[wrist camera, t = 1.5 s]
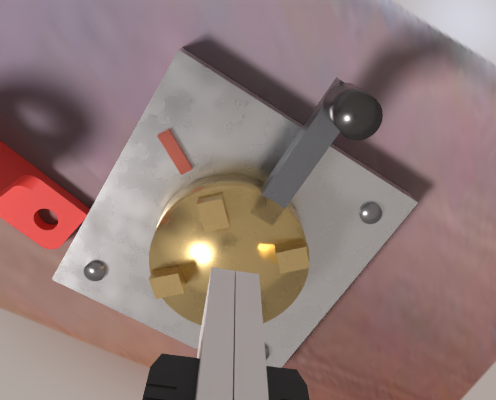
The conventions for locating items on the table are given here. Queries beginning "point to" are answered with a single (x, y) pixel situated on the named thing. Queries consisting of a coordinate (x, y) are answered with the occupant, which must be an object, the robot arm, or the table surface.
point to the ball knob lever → (252, 216)
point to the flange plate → (217, 163)
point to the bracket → (36, 201)
